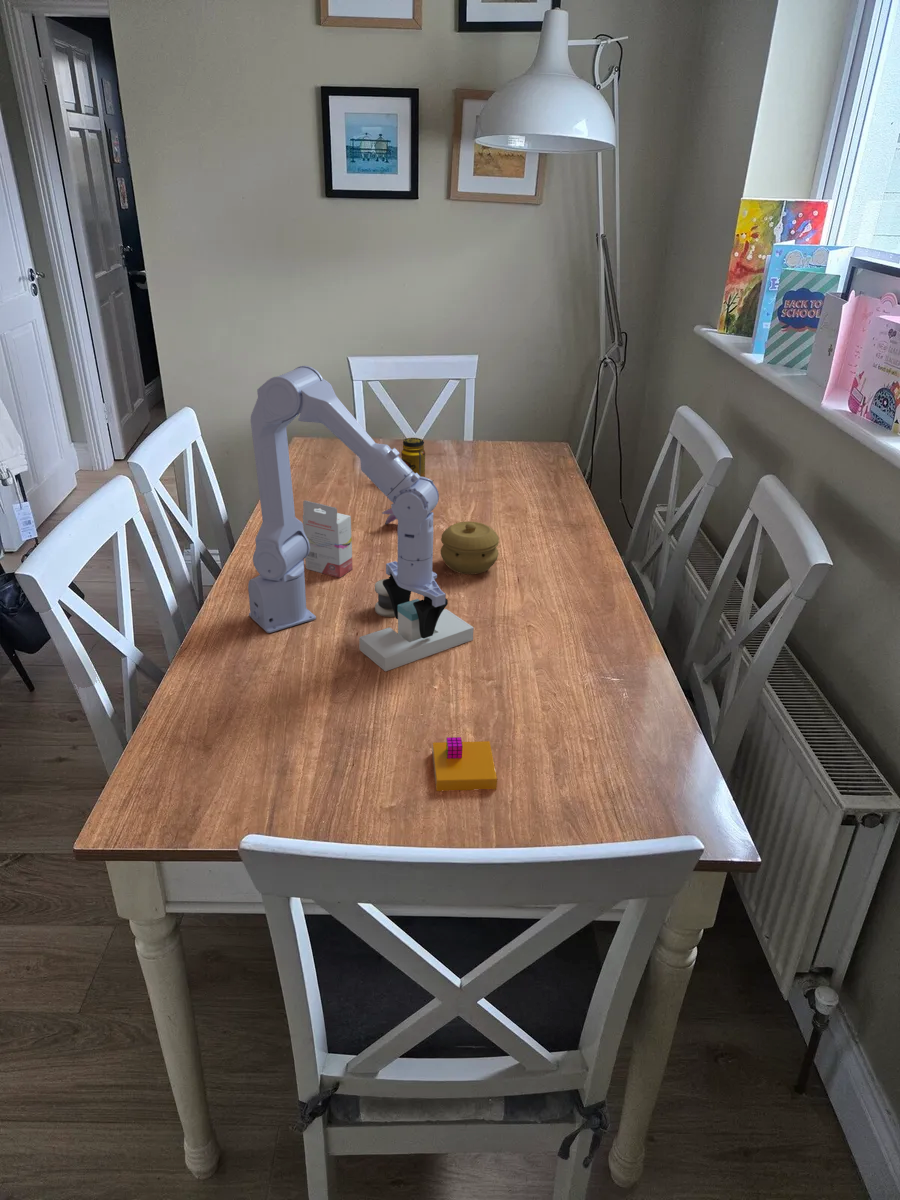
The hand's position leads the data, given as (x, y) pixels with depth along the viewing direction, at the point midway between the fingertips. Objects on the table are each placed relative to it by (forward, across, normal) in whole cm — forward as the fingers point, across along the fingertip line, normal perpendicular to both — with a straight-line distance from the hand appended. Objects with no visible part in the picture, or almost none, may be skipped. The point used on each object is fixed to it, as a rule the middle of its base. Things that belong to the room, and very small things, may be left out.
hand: (414, 626), depth 137 cm
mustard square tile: (+4, -31, +13) cm, 34 cm away
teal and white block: (+3, 0, 0) cm, 3 cm away
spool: (+3, +12, -3) cm, 13 cm away
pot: (+3, +18, -26) cm, 32 cm away
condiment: (+3, +65, -45) cm, 79 cm away
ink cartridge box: (+3, +33, -2) cm, 33 cm away
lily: (+3, +42, -27) cm, 51 cm away
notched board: (+3, -1, 0) cm, 3 cm away
